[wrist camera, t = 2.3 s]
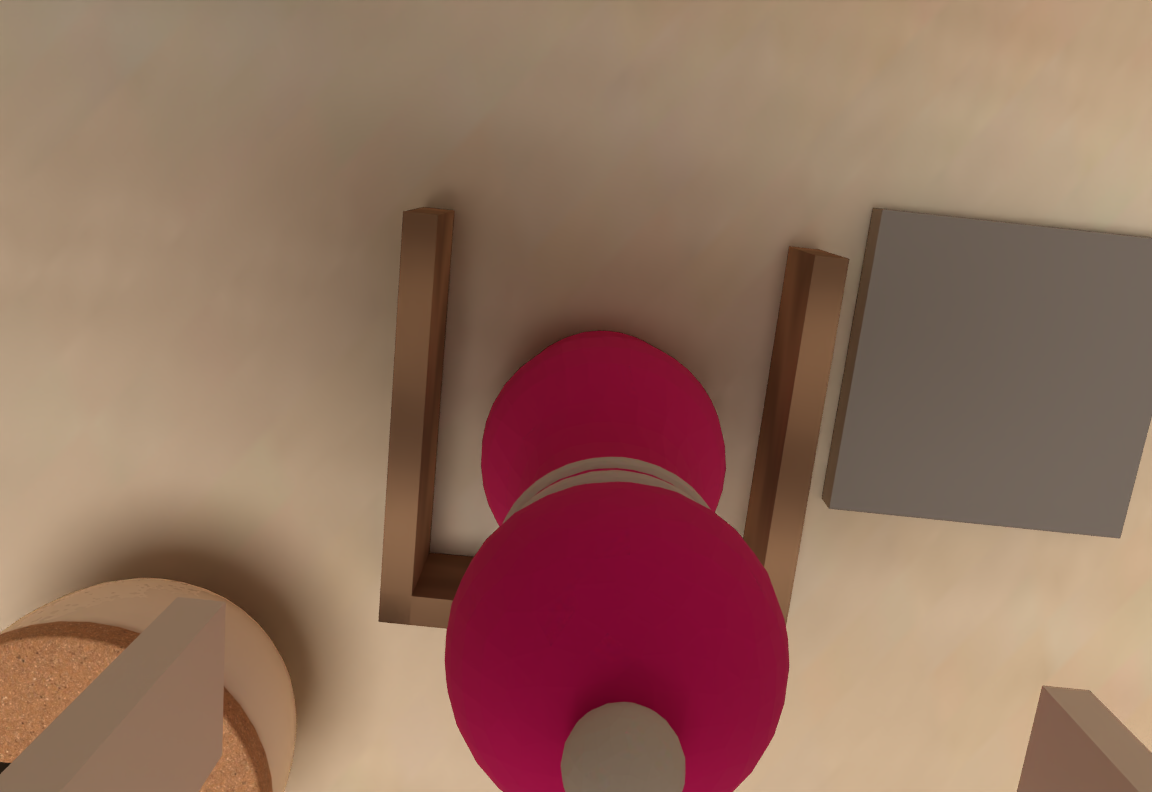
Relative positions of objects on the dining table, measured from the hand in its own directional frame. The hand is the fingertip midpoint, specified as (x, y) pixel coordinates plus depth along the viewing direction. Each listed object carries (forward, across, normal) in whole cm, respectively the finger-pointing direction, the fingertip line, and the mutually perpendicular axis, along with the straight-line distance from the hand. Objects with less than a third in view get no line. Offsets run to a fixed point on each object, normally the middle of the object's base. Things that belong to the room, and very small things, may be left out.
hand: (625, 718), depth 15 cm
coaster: (+18, +13, +4) cm, 22 cm away
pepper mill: (+18, 0, 0) cm, 18 cm away
